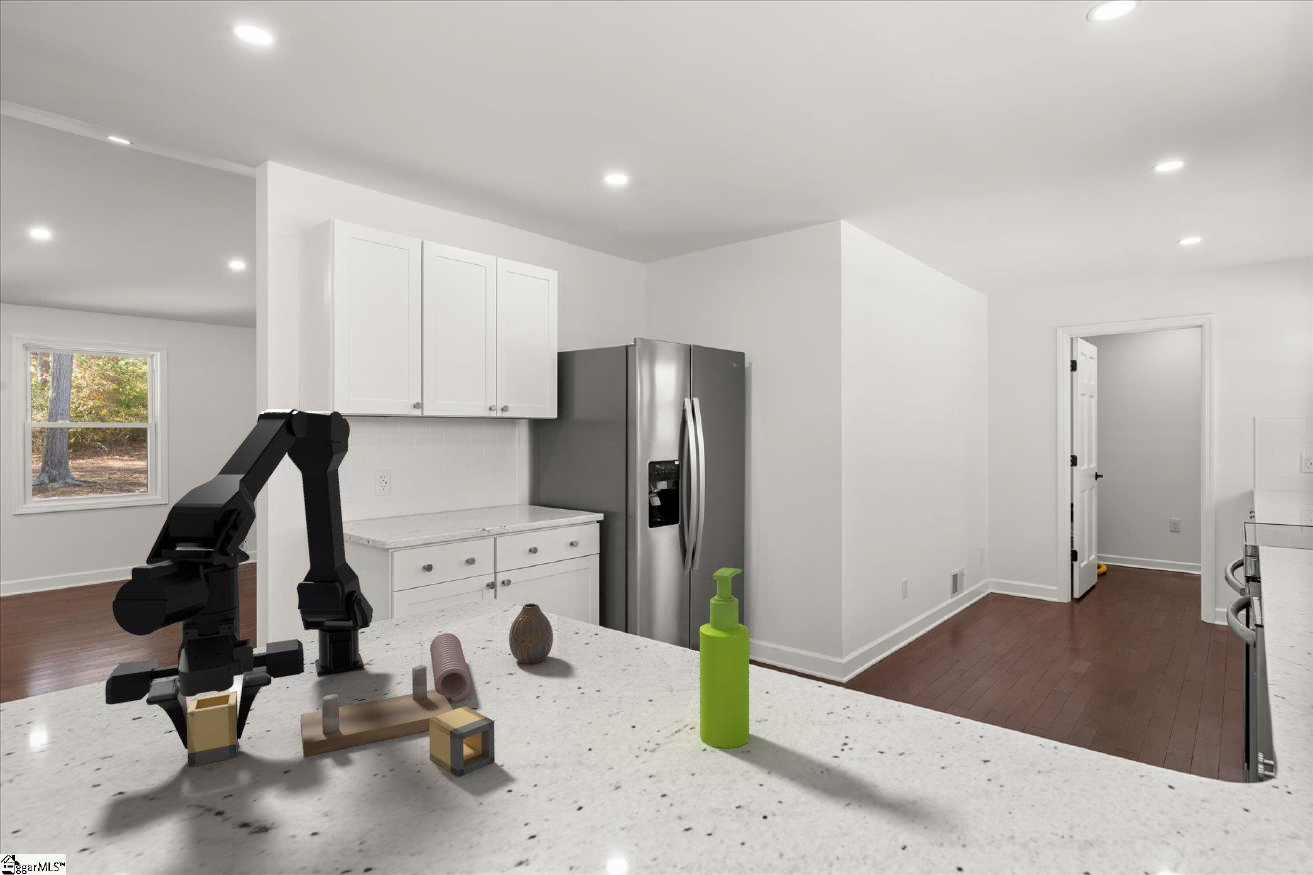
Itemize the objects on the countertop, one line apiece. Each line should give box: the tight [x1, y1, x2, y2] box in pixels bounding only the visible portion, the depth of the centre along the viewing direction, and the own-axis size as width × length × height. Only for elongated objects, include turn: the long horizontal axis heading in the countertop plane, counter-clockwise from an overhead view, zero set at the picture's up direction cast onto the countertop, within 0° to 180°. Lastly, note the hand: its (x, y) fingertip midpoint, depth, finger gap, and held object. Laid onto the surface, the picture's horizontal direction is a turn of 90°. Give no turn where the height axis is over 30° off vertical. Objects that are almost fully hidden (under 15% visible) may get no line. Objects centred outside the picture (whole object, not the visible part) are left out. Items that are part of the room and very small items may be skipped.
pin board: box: [300, 665, 454, 758], centre depth 88 cm, size 9×17×6 cm, turn 119°
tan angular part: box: [428, 705, 496, 778], centre depth 79 cm, size 5×5×6 cm
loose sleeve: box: [187, 690, 239, 768], centre depth 80 cm, size 5×5×6 cm
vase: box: [508, 603, 554, 665], centre depth 111 cm, size 7×7×9 cm
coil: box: [429, 632, 472, 704], centre depth 103 cm, size 5×5×18 cm
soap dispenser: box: [699, 567, 750, 749], centre depth 84 cm, size 6×7×20 cm
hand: (213, 742), depth 80 cm, fingers closed on loose sleeve, 5 cm apart
